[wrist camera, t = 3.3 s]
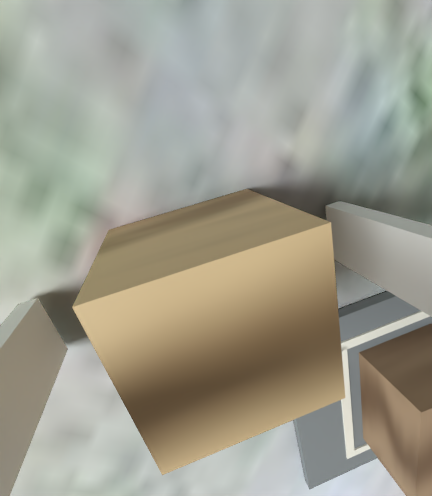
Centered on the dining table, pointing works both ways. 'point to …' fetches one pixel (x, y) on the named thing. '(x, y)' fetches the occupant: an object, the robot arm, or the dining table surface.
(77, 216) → the dining table surface
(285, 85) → the dining table surface
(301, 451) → the mat
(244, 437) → the oak block
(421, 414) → the base block
